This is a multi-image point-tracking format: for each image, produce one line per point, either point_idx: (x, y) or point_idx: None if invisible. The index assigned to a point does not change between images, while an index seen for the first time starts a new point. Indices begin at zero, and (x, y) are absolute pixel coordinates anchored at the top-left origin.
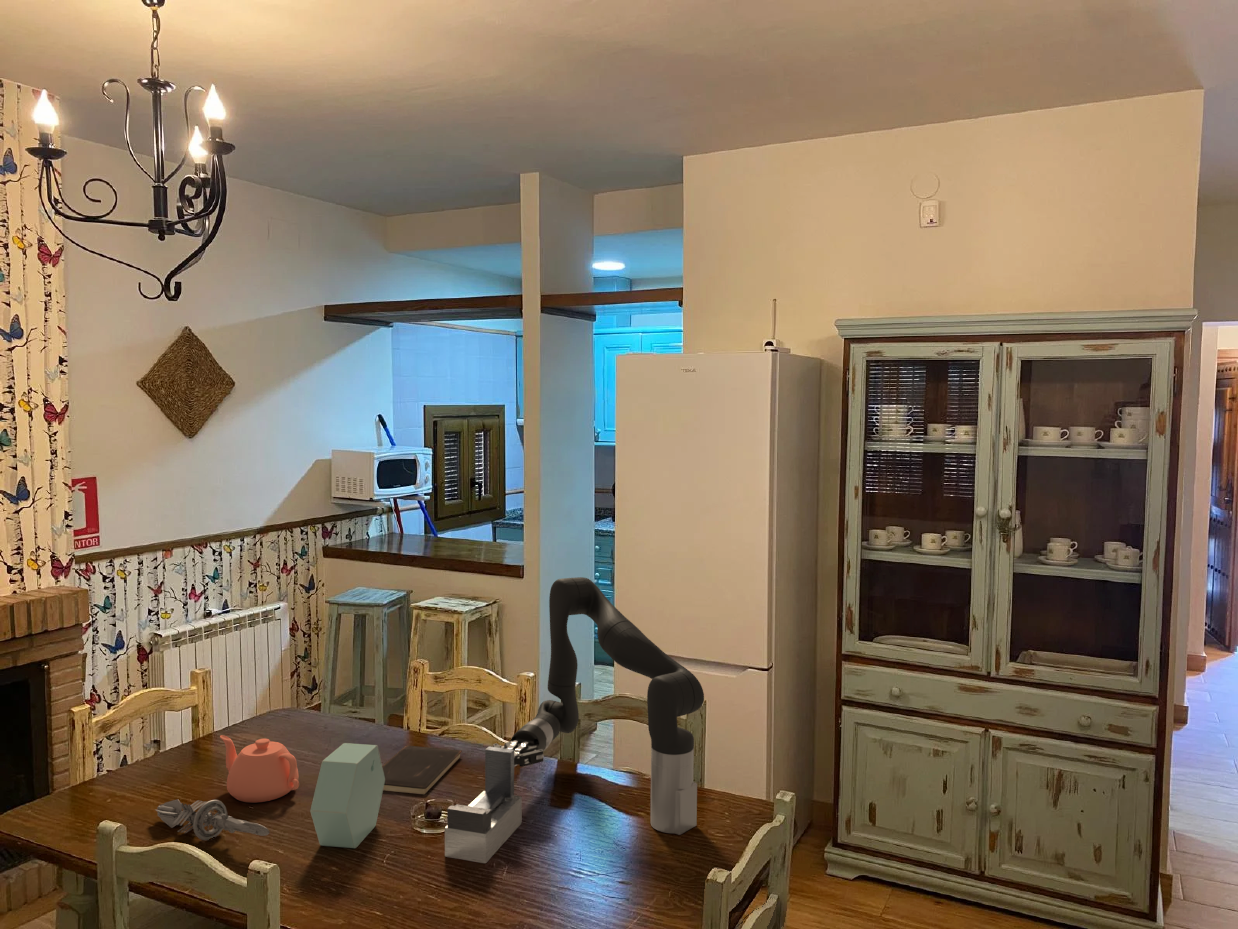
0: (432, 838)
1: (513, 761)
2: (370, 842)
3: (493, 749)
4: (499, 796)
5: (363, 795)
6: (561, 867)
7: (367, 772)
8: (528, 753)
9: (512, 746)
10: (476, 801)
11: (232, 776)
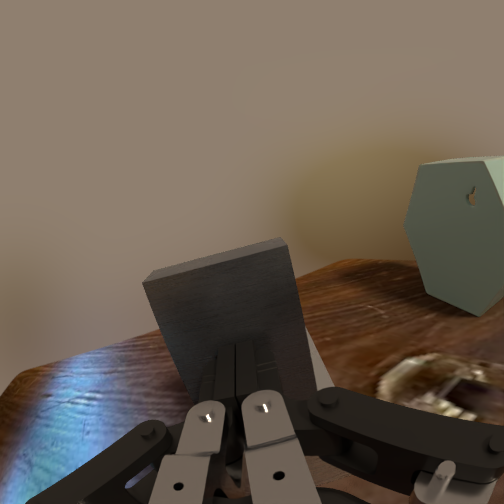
0: (373, 360)
1: (163, 331)
2: (432, 306)
3: (243, 248)
4: None
5: (444, 231)
6: (111, 400)
7: (453, 197)
8: (108, 461)
9: (272, 489)
10: (316, 375)
11: None
